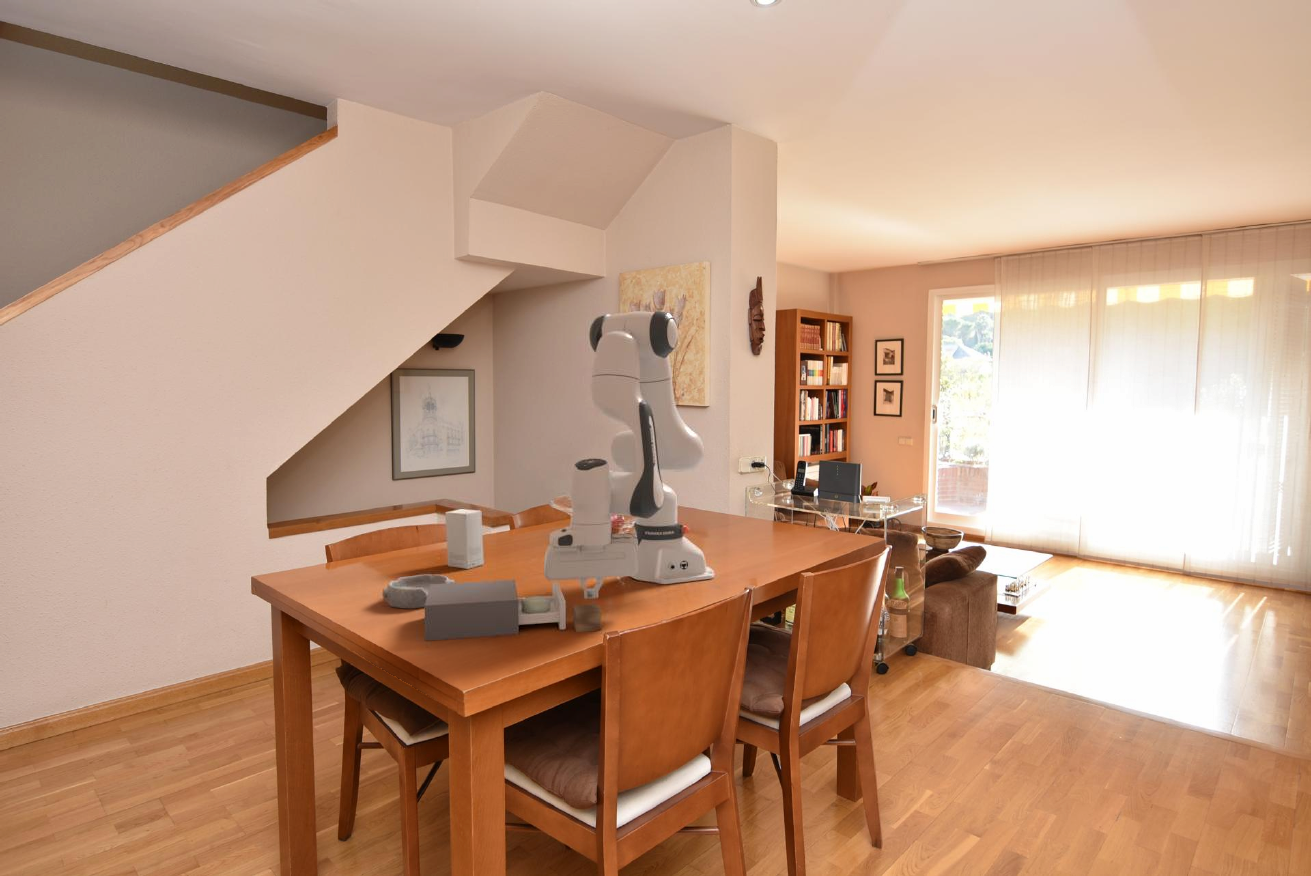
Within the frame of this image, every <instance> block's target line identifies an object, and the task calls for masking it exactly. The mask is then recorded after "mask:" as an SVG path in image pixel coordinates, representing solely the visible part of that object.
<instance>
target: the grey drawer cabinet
mask: <svg viewBox="0 0 1311 876" xmlns="http://www.w3.org/2000/svg"><path fill="white" fill-rule="evenodd" d="M518 598H519V596H518V589H517V584H516V580H515V579H506V580H505V579H504V580H502V579H501V580H485V581H469V582H467V581H466V582H454V583H448V584H430V588H429V592H428V595H427V599H426V602H425V607H424V639H425V640H424V641H425V642H426V641H427V642H428V641H441V640H451V639H452V640H453V639H467V638H470V639H471V638H481V637H483V638H484V637H495V636H507V635H519V633H520V631H519V626H520V625H519V616H518Z"/></svg>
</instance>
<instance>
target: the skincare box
mask: <svg viewBox="0 0 1311 876" xmlns="http://www.w3.org/2000/svg"><path fill="white" fill-rule="evenodd" d="M444 514H445V530H446V531H445V533H446V552H447V567H453V568H459V569H466V570H469V569H473V568H477V567H480V566H484V544H483V543H484V541H483V540H484V539H483V522H482V521H483V519H482V510H475V509H463V508H461V509H455V510H451V511H446V512H444Z"/></svg>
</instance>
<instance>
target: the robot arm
mask: <svg viewBox="0 0 1311 876" xmlns="http://www.w3.org/2000/svg"><path fill="white" fill-rule="evenodd" d="M678 329H679V328H678V324H677V321H676V319H675V318H674V317H673V316H672V314H671V313H669V312H667V311H666V312H665V311H660V310H656V311H639V310H638V311H631V312H630V311H629V312H622V313H621V312H620V313H614V314H609V313H608V314H604V315H601V316H597V317H596V318H595V319H594V320H593V322H592V323H591V326H590V328H589V335H588V336H589V343H590V346H591V348H592V350H593V352H594V359H593V365H592V372H591V373H592V374H591V384H590V385H591V386H590V389H591V390H590V391H591V392H590V395H591V400H592V402H593V404H594V406H595V408H596V409H597V410H598V411H599V412H600V413H602V414H603V415H605V416H607V417H608V418H610V419H612V420H616V421H617V422H620V423H622V424H624V425H626V426H627V427H628V428H629V430H628V429H627V430H624V431H620V432H619V431H618V432H617V433H616V435H615V436H614V437H613V439H612V441H611V444H610V449H609V450H610V456H611V459H612V461H613V462H614V464H615V465H616V466H617V467H619V469H621V470H622V471H615V470H614V471H612V470H611V469H610V466H609V463H608V461H607V460H605V459H602V458H588V459H587V458H586V459H582V460H579V461H578V462H575V464H574V465H573V469H572V473H571V478H570V493H569V494H570V496H569V498H570V500H569V501H570V505H571V515H570V522H569V523H570V524H569V526H565V527H563V528H560V529H557V530H554V531H552V532H550V534H549V543H550V544H549V545H548V546H547V548H546V550H545V554H544V555H545V556H544V562H543V574H544V577H545V579H546V580H547V581H559V580H560V581H562V580H563V581H565V580H578V582H579V584H580V586H581V588H582V589H583V598H584V600H585V599H598V598H599V591H600V589H601V587H602V586H603V584H604V578H617V577H630V578H633V579H635V580H638V581H643V582H651V583H656V584H660V585H669V584H677V583H686V582H693V581H702V580H712V579H714V578H715V571H714V570H713V569H712V568H711V567H709V566H708V565H707V564H706V563H707V562H706V558H705V555H704V552H703V551H702V550H701V549H700V548H699V547H698V546H697V545H695V544H694V543H693V542H692V541H691V540H689V539H688V538H686V536H685V535H688V534H689V533H690V531H691V530H690V527H689V526H687V525H684V524H681V523H679V522H678V496H677V494H676V491H674V489H672V487H670V486H669V485H667V484H665V483H664V482H663V481H662V475H661V472H668V473H669V472H671V473H672V472H673V473H682V472H689V471H694V470H697V468H699V466H700V465H701V464H702V462H703V461H704V460H703V459H704V457H705V447H704V446H705V445H704V443H703V440H702V439H701V437H700V435H698V434H697V433H696V432H695V431H693V429H691V428H689V426H688V425H687V424H686V423H685V422H684V421H683V419H682V417H681V415H680V414H679V411H678V409H677V406H676V402H675V401H676V400H675V395H674V387H673V386H674V385H673V375H672V374H673V373H672V372H673V371H672V366H671V361H670V359H671V358H670V356H669V355H670V354H672V353H673V351H674V349H676V347H677V343H678V338H679V330H678ZM611 515H616V516H619V515H621V516H631V517H635V522H634V523H633V534H632V533H631V532H625V533H612V517H611ZM587 579H595V581H596V583H595V585H594V587H593V588H587V586H586V585H585V584H587Z"/></svg>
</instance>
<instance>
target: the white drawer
mask: <svg viewBox="0 0 1311 876" xmlns="http://www.w3.org/2000/svg"><path fill="white" fill-rule="evenodd" d="M544 597H547V598H549V599H550V610H549V611H548V612H546V613H538V614H526V613H523V612H522V604H521V601H522V600H523V599H525V598H526V597H518V616H519V626H520V625H535V624H546V623H547V624H548V623H557V625H558V629H559V630H566V629H567V628H566V623H567V622H566V621H567V620H566V616H567V615H566V614H567V610H566V609H567V607H566V602H567V601H566V599H565V596H564V594H563V591H562V589H561V586H560V584H559V581H553V582H552V595H549V596H548V595H547V596H544Z"/></svg>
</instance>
